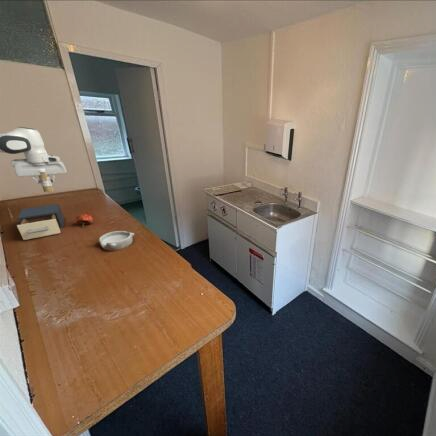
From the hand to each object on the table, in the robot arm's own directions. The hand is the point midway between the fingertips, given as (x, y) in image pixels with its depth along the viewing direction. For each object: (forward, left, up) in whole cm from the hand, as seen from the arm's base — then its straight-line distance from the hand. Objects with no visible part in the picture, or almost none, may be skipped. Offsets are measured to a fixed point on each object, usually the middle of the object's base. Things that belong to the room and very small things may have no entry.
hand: (46, 182), depth 134 cm
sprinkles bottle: (0, 0, -5) cm, 5 cm away
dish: (+24, -57, -23) cm, 66 cm away
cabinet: (-5, -10, -23) cm, 25 cm away
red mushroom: (+12, -21, -19) cm, 31 cm away
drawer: (-5, -23, -22) cm, 32 cm away
